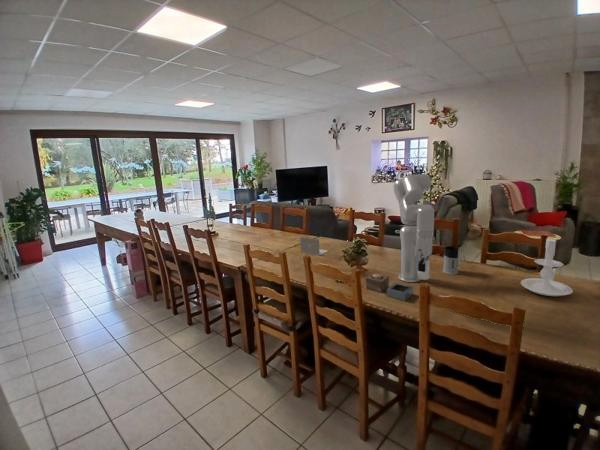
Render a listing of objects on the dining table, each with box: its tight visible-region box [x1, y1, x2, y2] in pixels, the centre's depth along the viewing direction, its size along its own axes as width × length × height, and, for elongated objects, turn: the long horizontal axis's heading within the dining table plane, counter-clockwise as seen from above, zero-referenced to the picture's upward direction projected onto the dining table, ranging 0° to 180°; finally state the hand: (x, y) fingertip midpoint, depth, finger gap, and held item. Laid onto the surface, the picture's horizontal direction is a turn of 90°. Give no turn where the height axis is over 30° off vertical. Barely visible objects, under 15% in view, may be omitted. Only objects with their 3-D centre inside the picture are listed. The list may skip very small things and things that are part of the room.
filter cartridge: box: [418, 257, 431, 281], centre depth 151 cm, size 5×5×10 cm
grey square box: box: [365, 273, 390, 293], centre depth 173 cm, size 9×9×6 cm
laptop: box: [299, 236, 329, 256], centre depth 244 cm, size 18×12×13 cm
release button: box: [373, 273, 383, 280], centre depth 173 cm, size 5×5×6 cm
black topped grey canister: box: [442, 245, 466, 275], centre depth 186 cm, size 9×14×15 cm, turn 18°
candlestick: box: [520, 238, 574, 297], centre depth 156 cm, size 21×25×28 cm
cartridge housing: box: [386, 282, 414, 302], centre depth 163 cm, size 10×10×4 cm
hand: (423, 269), depth 152 cm, fingers closed on filter cartridge, 5 cm apart
